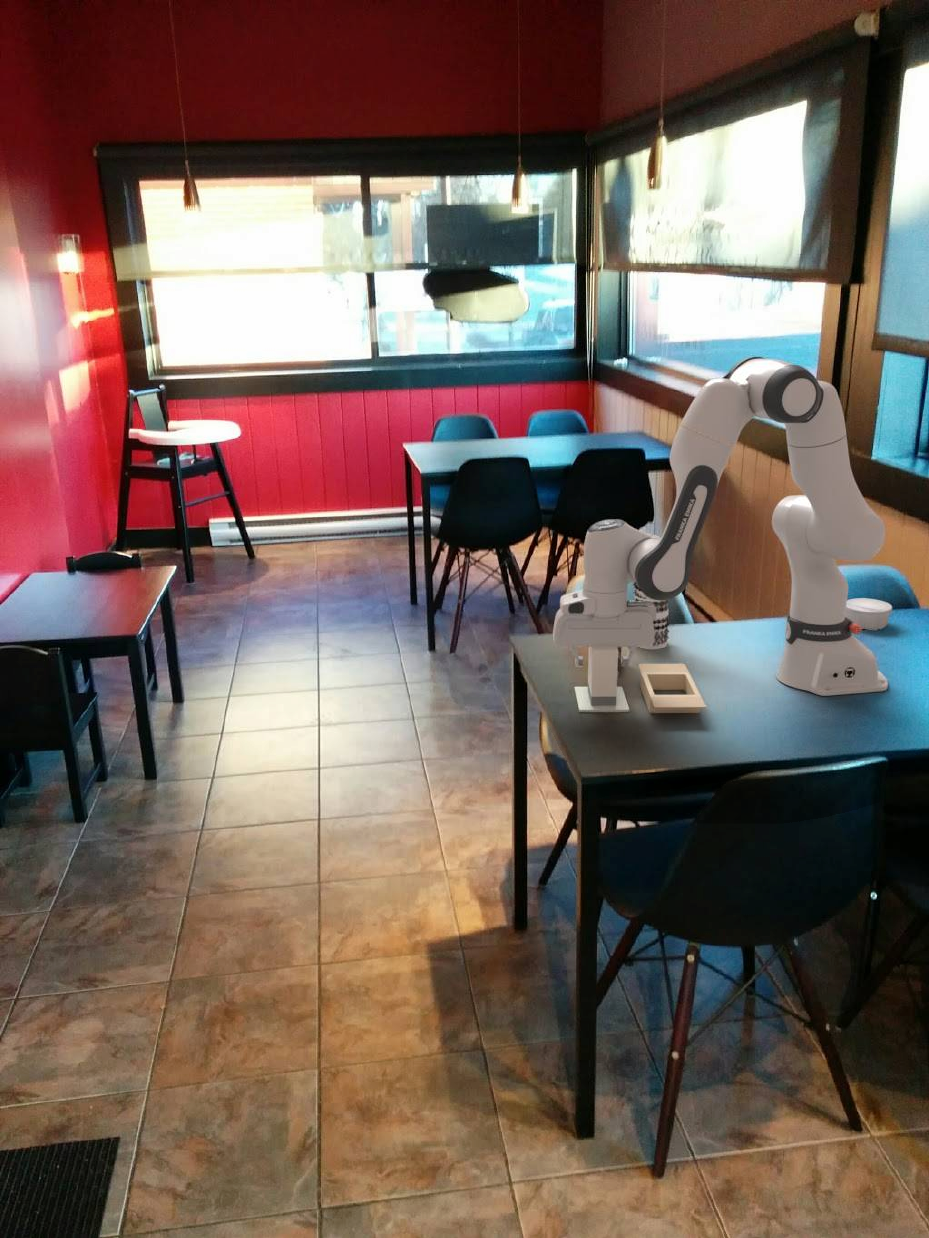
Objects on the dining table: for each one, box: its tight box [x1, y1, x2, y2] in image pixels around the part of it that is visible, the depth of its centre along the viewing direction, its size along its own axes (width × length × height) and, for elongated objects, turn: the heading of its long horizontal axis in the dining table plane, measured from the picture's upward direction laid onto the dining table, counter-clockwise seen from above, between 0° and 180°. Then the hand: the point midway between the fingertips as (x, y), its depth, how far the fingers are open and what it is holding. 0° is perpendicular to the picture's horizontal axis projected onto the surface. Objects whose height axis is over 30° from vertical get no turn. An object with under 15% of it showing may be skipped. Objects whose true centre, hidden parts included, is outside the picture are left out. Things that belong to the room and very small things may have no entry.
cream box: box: [587, 646, 618, 706], centre depth 204 cm, size 5×8×12 cm, turn 179°
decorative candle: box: [632, 582, 671, 650], centre depth 233 cm, size 9×9×25 cm
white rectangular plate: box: [573, 686, 630, 713], centre depth 206 cm, size 10×12×1 cm
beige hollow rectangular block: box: [637, 663, 707, 714], centre depth 205 cm, size 10×23×4 cm, turn 179°
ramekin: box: [845, 597, 893, 631], centre depth 247 cm, size 11×11×5 cm
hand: (602, 665), depth 203 cm, fingers open, 8 cm apart
